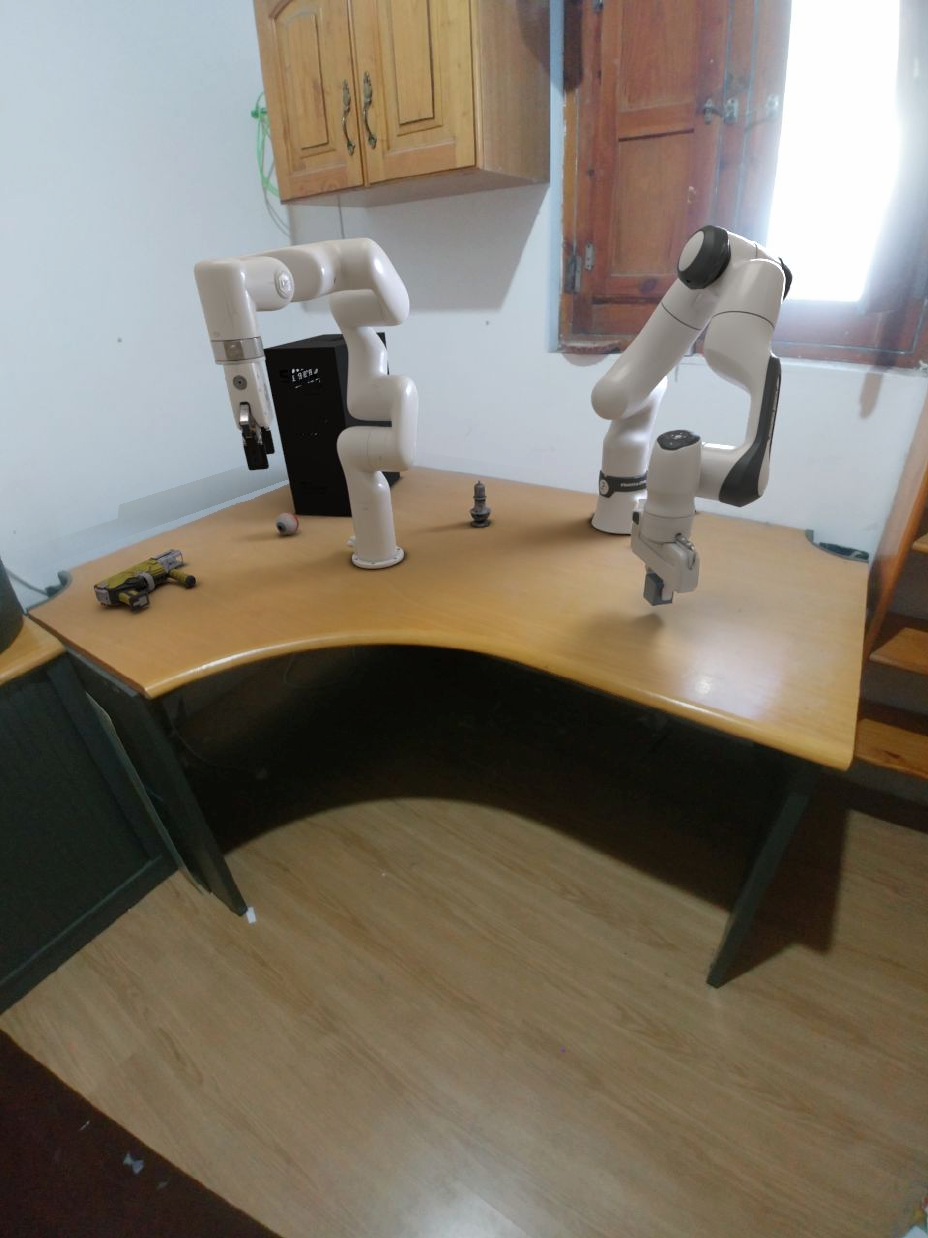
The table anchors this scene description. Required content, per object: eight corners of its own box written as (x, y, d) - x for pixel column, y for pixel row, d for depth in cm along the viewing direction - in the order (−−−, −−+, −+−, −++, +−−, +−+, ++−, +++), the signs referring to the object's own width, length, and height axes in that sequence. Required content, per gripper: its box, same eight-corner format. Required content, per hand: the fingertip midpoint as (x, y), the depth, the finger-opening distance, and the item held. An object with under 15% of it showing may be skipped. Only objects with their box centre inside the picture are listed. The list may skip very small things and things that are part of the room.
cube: (652, 606, 115) (655, 583, 113) (643, 596, 119) (645, 574, 116) (672, 603, 116) (675, 580, 113) (662, 593, 119) (665, 571, 117)
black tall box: (359, 516, 174) (334, 346, 152) (295, 513, 179) (262, 349, 156) (400, 477, 206) (384, 331, 183) (345, 476, 210) (323, 334, 188)
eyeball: (273, 537, 164) (268, 516, 161) (287, 528, 169) (282, 508, 166) (291, 539, 161) (286, 518, 158) (305, 530, 166) (301, 510, 163)
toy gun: (219, 557, 146) (169, 546, 150) (142, 598, 126) (87, 585, 129) (222, 574, 148) (172, 563, 152) (147, 618, 128) (92, 604, 132)
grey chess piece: (489, 527, 162) (488, 483, 156) (468, 526, 163) (466, 483, 157) (493, 519, 167) (491, 476, 161) (472, 518, 168) (470, 476, 162)
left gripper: (256, 355, 86) (280, 473, 95) (269, 344, 101) (289, 447, 110) (202, 359, 85) (231, 478, 94) (223, 347, 100) (247, 450, 109)
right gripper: (714, 544, 101) (701, 615, 108) (657, 504, 118) (650, 568, 125) (678, 549, 100) (668, 620, 107) (627, 508, 117) (621, 572, 124)
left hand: (262, 461), depth 102 cm, fingers open, 9 cm apart
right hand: (658, 592), depth 116 cm, fingers closed on cube, 4 cm apart
